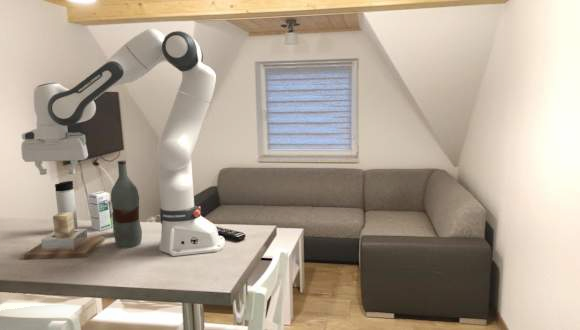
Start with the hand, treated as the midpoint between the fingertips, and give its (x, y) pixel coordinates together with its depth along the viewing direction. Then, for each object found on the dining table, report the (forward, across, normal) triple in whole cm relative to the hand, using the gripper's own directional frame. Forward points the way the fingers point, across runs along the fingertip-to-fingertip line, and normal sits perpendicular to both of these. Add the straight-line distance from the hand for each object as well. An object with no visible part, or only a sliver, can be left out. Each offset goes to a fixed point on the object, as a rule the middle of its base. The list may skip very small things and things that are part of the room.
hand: (57, 174), depth 143 cm
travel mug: (+27, +9, -21) cm, 35 cm away
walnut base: (+27, 0, 0) cm, 27 cm away
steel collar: (+25, 0, 0) cm, 25 cm away
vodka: (+27, -20, -3) cm, 34 cm away
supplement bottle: (+27, -14, -15) cm, 34 cm away
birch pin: (+25, 0, 0) cm, 25 cm away
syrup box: (+27, -3, -23) cm, 36 cm away
